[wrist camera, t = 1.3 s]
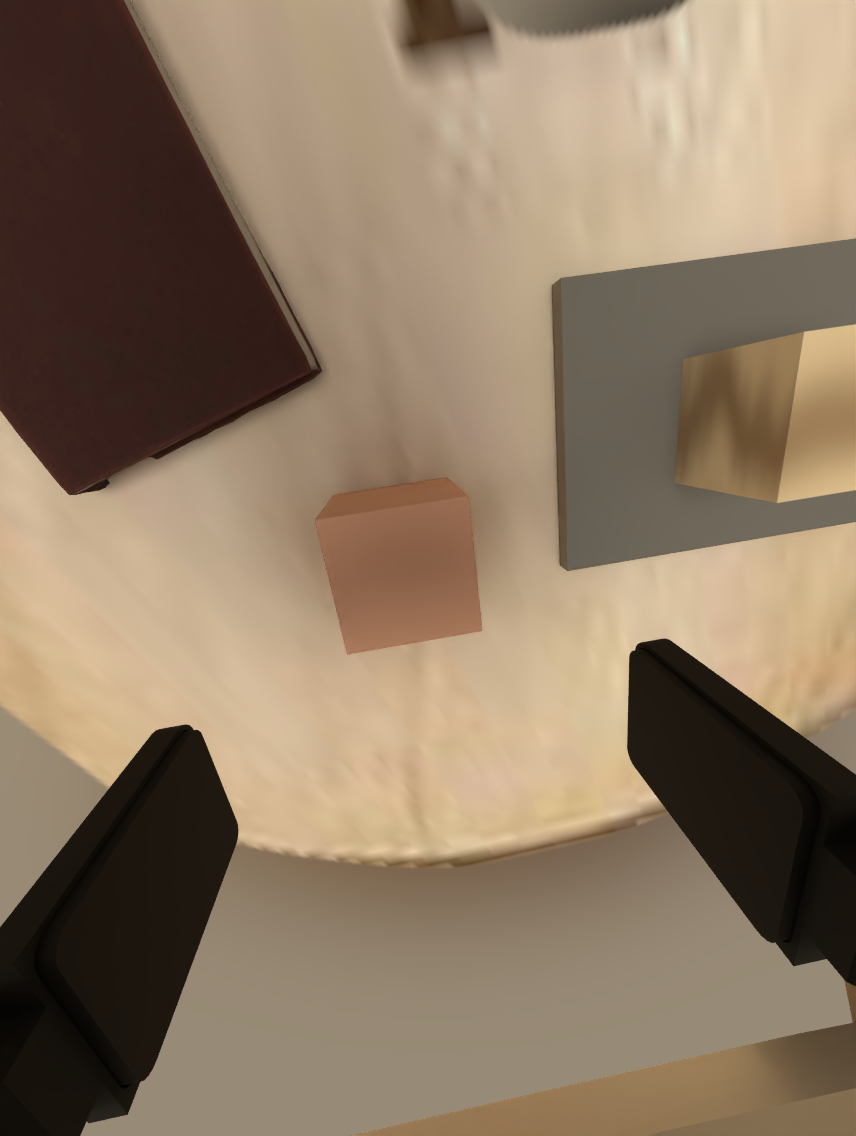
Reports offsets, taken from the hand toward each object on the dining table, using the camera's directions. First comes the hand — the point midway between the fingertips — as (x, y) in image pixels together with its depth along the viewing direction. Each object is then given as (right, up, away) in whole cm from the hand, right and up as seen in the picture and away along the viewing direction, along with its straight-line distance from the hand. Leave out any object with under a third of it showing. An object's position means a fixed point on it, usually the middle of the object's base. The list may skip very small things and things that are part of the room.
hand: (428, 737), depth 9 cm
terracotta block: (-2, +5, +13) cm, 15 cm away
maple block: (+16, +11, +12) cm, 23 cm away
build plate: (+16, +12, +13) cm, 23 cm away
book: (-15, +18, +8) cm, 25 cm away
